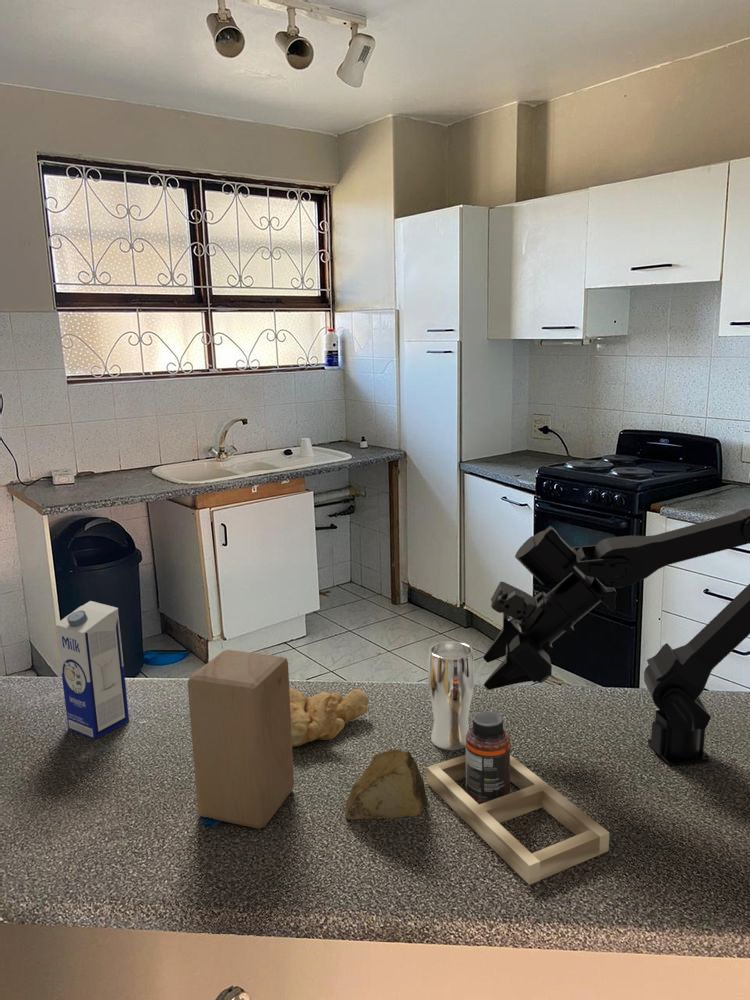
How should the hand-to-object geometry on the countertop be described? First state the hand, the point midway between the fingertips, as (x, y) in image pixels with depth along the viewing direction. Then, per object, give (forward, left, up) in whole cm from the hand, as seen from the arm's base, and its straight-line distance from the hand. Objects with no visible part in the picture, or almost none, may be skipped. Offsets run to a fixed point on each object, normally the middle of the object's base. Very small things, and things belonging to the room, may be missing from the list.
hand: (485, 673), depth 112 cm
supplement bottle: (+4, +13, -12) cm, 18 cm away
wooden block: (+36, +9, -12) cm, 39 cm away
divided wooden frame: (+2, +18, -11) cm, 21 cm away
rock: (+18, +14, -12) cm, 25 cm away
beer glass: (+5, -1, -12) cm, 13 cm away
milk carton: (+60, -17, -12) cm, 64 cm away
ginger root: (+26, -9, -12) cm, 30 cm away
